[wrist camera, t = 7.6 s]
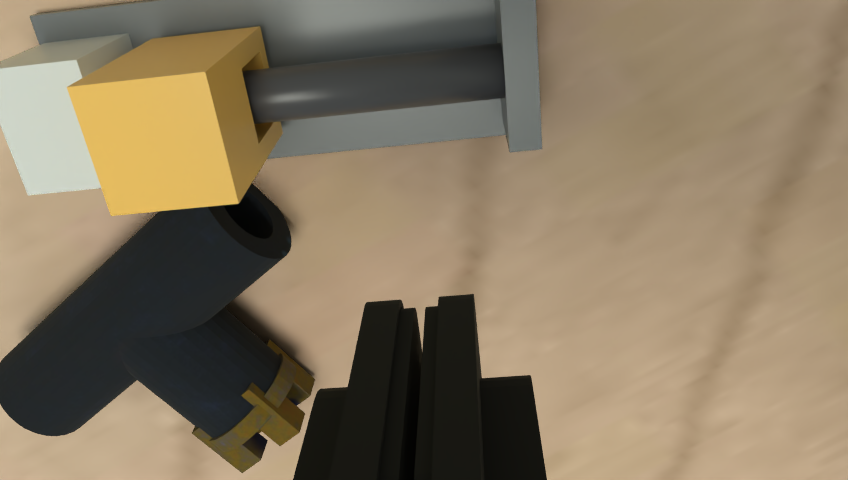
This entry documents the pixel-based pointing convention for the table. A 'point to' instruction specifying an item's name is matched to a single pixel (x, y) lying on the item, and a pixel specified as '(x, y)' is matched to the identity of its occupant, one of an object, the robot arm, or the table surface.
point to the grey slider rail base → (295, 74)
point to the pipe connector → (169, 335)
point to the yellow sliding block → (176, 122)
